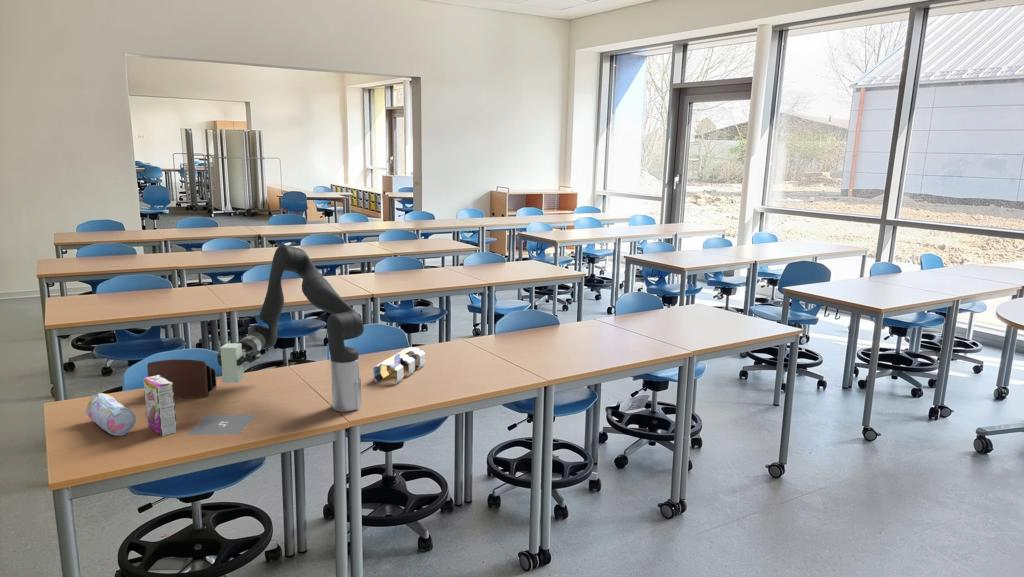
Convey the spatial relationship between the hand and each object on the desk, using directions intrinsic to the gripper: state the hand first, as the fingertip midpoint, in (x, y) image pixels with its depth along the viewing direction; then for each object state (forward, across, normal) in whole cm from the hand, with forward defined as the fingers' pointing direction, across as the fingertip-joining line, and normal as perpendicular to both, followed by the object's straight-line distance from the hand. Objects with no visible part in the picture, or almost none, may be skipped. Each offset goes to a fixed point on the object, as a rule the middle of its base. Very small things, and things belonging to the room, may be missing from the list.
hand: (229, 363), depth 214 cm
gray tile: (+9, 0, +18) cm, 20 cm away
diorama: (-42, +50, +19) cm, 68 cm away
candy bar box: (+13, -17, +18) cm, 28 cm away
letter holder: (-21, -25, +18) cm, 38 cm away
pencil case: (+10, -34, +18) cm, 39 cm away
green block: (-3, 0, +7) cm, 7 cm away
